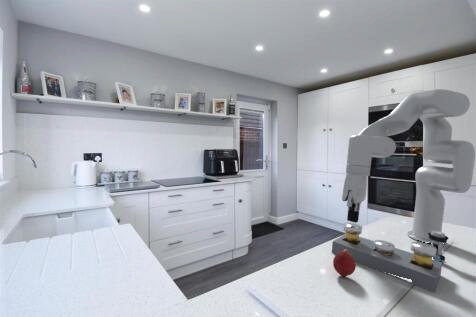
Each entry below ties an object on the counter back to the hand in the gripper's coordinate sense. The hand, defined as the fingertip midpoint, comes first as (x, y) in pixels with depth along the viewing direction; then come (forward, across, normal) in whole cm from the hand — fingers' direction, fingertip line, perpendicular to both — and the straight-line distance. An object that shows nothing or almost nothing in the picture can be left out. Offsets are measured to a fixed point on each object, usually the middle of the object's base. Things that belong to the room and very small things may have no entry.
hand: (352, 221), depth 82 cm
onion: (+12, +18, +5) cm, 22 cm away
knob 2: (+7, 0, +20) cm, 22 cm away
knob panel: (+11, 0, +10) cm, 15 cm away
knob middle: (+11, -1, +10) cm, 15 cm away
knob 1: (+8, 0, 0) cm, 8 cm away
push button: (+11, -18, +22) cm, 30 cm away
